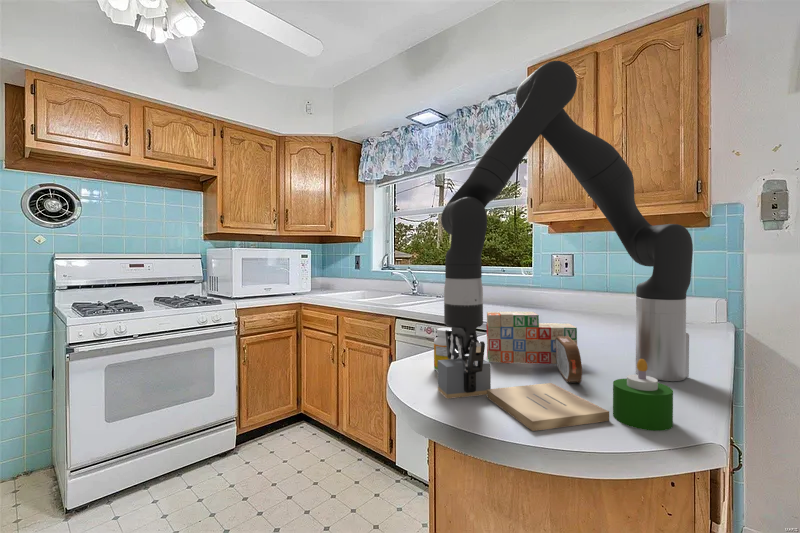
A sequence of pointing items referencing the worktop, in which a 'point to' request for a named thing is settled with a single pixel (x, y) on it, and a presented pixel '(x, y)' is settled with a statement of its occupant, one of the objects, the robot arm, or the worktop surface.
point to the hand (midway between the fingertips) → (463, 386)
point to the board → (546, 406)
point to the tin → (568, 359)
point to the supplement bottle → (440, 347)
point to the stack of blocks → (523, 338)
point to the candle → (643, 401)
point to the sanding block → (461, 379)
